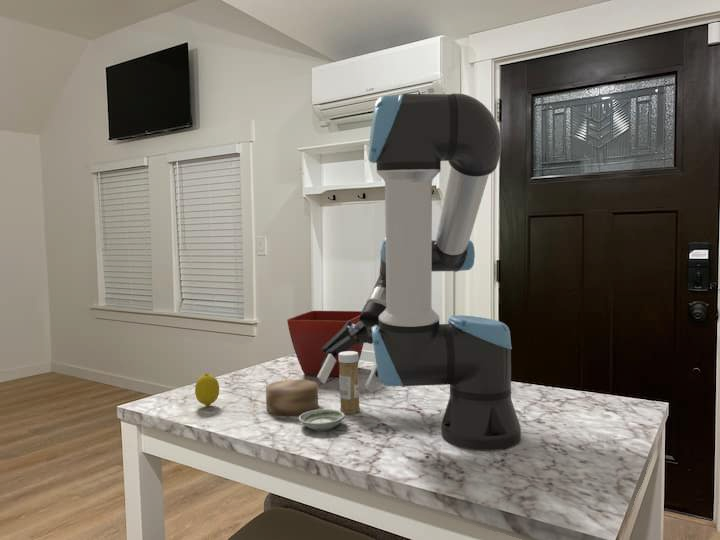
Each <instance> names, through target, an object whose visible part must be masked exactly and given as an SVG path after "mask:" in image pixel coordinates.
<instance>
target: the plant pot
mask: <svg viewBox="0 0 720 540" xmlns="http://www.w3.org/2000/svg"><path fill="white" fill-rule="evenodd" d="M361 312H362V311H361V310H360V311H358V310H310V311H307V312H305V313H300V314H298V315H296V316H293V317H291V318H288V319H286V321H287V326H288V331H289V336H290V338H291V343H292V346H293V349H294V352H295V355H296V359H297V361H298V362H299V363H298V364H299V366H300V368H301V370H302V372H303V374H304V375H306V376H307V375H309V376H310V375H311V376H318V374H319V372H320V370H321V368H322V366H321V364H322V362H323V360H324V358H325V356H326V354H325V353H324V352H323V351H322V347H323V346H324V345H325V344H326V343H327V342H329V341H330V340H331V339H332V338H333V337H334V336H335V335H336V334H337V333H338V332H339V331H340V330H341V329H342V328H343V327H344V325H345V324H346V322H347V321H350V322H351V323H352V324H357V323H358V322H359V320H360V314H361ZM354 337H355V338H356V339H357V336H356V335H355V336H354ZM364 344H365V343H361V342H360V343H359V344H354V345H353V346H351V347H350V348H349V349H347V350H346V351H355V352H358V354H359V361H358V363H360V358H361V357H362V356H361V355H362V351H363V347H364ZM333 353H334V352H333ZM335 359H336V362H335V364H334V366H333V368H332V370H331V372H330V374H329V376H328V377H340V376H339V375H340V364H339V355H338V356H337V357H335Z"/></svg>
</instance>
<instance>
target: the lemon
mask: <svg viewBox="0 0 720 540" xmlns="http://www.w3.org/2000/svg"><path fill="white" fill-rule="evenodd" d="M194 392H195V393H194V395H195V397H196V400H197V401H198V402H199V403H200V404H203V405H204V406H205V407H210V406H211V405H212V404H213V403H215V402H216V401H217V399H218V398H219V394H220V385H219V381H218V379H217V378H216V377H215V376H214V375H211V374H209V373H204V374H203V375H201V376H200V377H199V378H198V379H197V380H196V383H195V387H194Z"/></svg>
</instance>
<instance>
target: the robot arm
mask: <svg viewBox="0 0 720 540" xmlns="http://www.w3.org/2000/svg"><path fill="white" fill-rule="evenodd" d="M369 135H370V137H369V145H368V147H369V149H368V161H369V162H370V163H373V164H375V163H376V173H377V174H378V176H380V178H381V179H383V181H384V201H385V203H384V204H385V205H384V206H385V207H384V209H385V212H384V214H385V216H384V217H385V223H384V225H385V226H384V227H385V237H384V239H383V241H382V244H381V250H380V265H379V275H378V278H377V280H376V283H375V284H374V287H373V288H372V290H371V292H370V293H369V296H368V298H367V300H366V302H365V304H364V305H363V308H362V312H361V314H360V320H359V322H358V323H357V324H352V323H351V322H350V321H347V322H346V324H345V325H344V327H343V328H342V329H341V330H340V331H339V332H338V333H337V334H336V335H335V336H334V337H333V338H332V339H331V340H330V341H329V342H327V343H326V344H325V345H324V346H323V347H322V351H323V352H324V353H325V354H326V356H325V358H324V360H323V362H322V364H321V366H322V368H321V370H320V372H319V374H318V375H316V378H317V379H318V380H319V381H320V383H322V384H324V385H325V384H326V382H327V380H328V378H329V377H330V376H329V374H330V372H331V370H332V368H333V366H334V364H335V362H336V359H335V357H337V356H338V355H339V353H340V352H344V351H346V350H347V349H349V348H350V347H351V346H353V345H354V344H359V343H360V342H361V343H364V344H370V345H373V350H374V358H375V363H374V364H373V367H372V369H371V372H370V373H369V376H368V378H367V380H366V383H365V385H364V386H365V387H366V388H367V390H368V391H369V392H370V393H374V392H375V389H376V386H377V384H378V383H379V381H380V383H381V384H383V385H384V386H388V387H402V388H405V387H418V386H420V387H423V386H425V387H426V386H445V385H446V386H449V399H448V401H447V404H446V408H445V410H444V414H443V417H442V420H441V425H440V426H441V437H442V438H443V439H444V440H445V441H446V442H447V443H450V444H451V445H454V446H457V447H460V448H464V449H469V450H475V451H476V450H477V451H498V450H504V449H505V450H506V449H509V448H512V447H514V446H516V445H518V444H519V443H520V442H521V441H522V440H521V439H522V435H521V434H522V431H521V429H522V428H521V424H520V421H519V418H518V416H517V412H516V409H515V406H514V403H513V401H512V400H513V399H512V380H511V379H512V349H513V347H512V340H511V331H510V328H509V326H508V325H507V324H506V323H504V322H502V321H499V320H497V319H490V318H487V317H480V316H473V315H461V314H460V315H454V314H453V315H451V316H449V319H448V320H447V323H443V324H441V323H440V315H439V314H438V313H437V312H436V311H435V310H434V309H433V307H432V295H433V294H432V292H433V291H432V289H433V288H432V286H433V285H432V275H433V273H432V272H454V273H457V272H461V271H469V270H471V269H472V268H473V266H474V264H475V259H476V257H475V256H476V255H475V254H476V253H475V247H474V242H472V241H471V237H472V233H473V229H474V226H475V222H476V220H477V215H478V212H479V209H480V205H481V203H482V199H483V196H484V191H485V189H486V186H487V182H488V179H489V175H491V174H492V173H493V172H495V170H497V166H498V163H499V161H500V157H501V153H502V136H501V132H500V129H499V125H498V123H497V120H496V119H495V117H494V116H493V114H492V112H491V111H490V110H489V108H487V106H486V105H485V104H483V102H481V101H479V100H478V99H477V98H475V97H472V96H470V95H468V94H464V93H451V94H450V93H447V94H445V93H441V94H440V93H400V94H399V93H398V94H391V95H390V94H389V95H383V96H380V97H378V99H377V100H376V101H375V103H374V107H373V112H372V119H371V127H370V134H369ZM442 162H448V164H449V166H450V170H449V174H448V175H449V176H448V181H447V183H446V184H447V185H446V189H445V194H444V199H443V205H442V209H441V214H440V218H439V222H438V223H439V224H438V227H437V233H436V237H435V240H434V239H433V235H432V234H433V232H432V231H433V228H432V227H433V221H432V219H433V217H432V216H433V213H432V212H433V211H432V210H433V180H434V179H435V178H436V177H437V176H438V175H439V173H440V172H441V168H442V167H441V165H442ZM432 239H433V240H432ZM355 335H356V336H357V339H356V338H355V337H354V336H355ZM333 352H334V353H333Z"/></svg>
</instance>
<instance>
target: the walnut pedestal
mask: <svg viewBox="0 0 720 540" xmlns="http://www.w3.org/2000/svg"><path fill="white" fill-rule="evenodd" d="M318 386H319V385H318V383H317V382H315V381H311V380H307V379H287V380H280V381H275V382H272V383H270V384H268V385H266V387H265V401H266V406H265V407H266V412H267V413H269V414H271V415H274V416H279V415H281V416H280V417H293V416H294V417H295V416H300V415H301V414H303V413H305V412H308V411H312V410H318V408H319V387H318Z"/></svg>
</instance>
